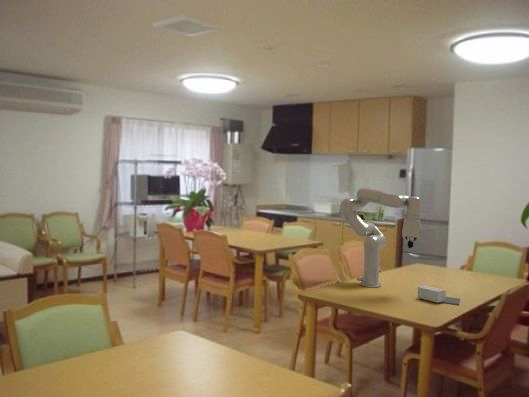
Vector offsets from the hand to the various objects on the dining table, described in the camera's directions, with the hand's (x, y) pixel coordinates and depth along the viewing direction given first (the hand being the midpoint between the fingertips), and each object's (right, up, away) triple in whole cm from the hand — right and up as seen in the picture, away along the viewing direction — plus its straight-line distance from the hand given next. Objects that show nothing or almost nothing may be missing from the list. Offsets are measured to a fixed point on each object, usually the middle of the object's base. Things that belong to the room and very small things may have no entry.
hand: (410, 247), depth 293 cm
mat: (+15, -29, -12) cm, 35 cm away
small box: (+4, -24, -9) cm, 26 cm away
